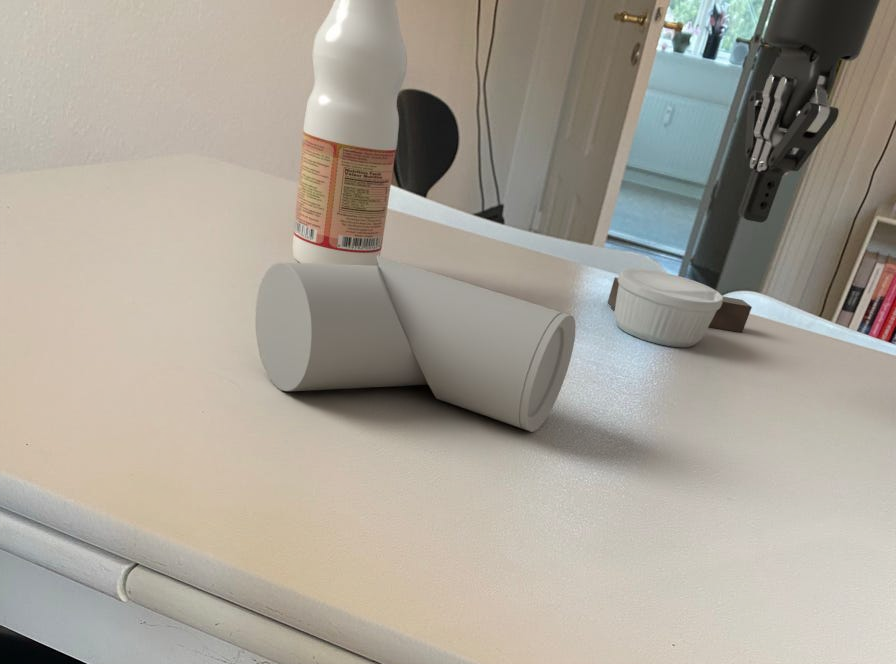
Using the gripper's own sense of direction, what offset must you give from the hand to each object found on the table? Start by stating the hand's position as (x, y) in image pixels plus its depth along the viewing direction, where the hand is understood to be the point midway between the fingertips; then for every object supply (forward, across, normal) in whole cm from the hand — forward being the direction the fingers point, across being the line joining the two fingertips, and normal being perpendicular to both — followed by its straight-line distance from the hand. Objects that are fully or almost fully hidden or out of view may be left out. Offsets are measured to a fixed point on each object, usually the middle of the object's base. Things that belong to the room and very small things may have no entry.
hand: (750, 219), depth 80 cm
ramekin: (+14, +12, 0) cm, 19 cm away
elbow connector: (+14, -19, +29) cm, 38 cm away
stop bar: (+14, +21, -5) cm, 26 cm away
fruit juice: (+14, +19, +35) cm, 42 cm away
